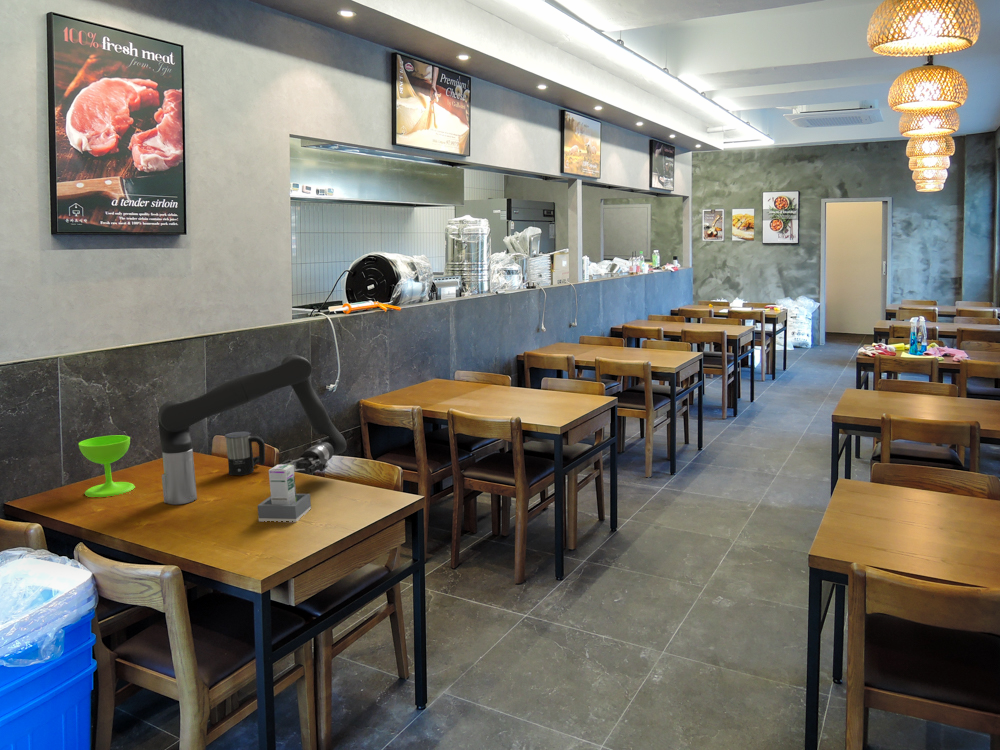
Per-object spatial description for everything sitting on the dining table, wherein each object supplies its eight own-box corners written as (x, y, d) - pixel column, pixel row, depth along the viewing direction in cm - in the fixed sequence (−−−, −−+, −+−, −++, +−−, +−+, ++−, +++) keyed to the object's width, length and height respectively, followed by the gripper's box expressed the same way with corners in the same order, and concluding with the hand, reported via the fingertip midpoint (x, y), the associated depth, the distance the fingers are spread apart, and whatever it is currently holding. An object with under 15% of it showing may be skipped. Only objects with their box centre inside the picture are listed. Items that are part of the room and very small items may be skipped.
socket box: (258, 521, 230) (257, 505, 229) (275, 508, 242) (274, 493, 241) (296, 522, 229) (295, 506, 228) (311, 509, 240) (310, 493, 240)
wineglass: (143, 483, 273) (138, 434, 271) (122, 497, 258) (117, 445, 255) (98, 484, 273) (92, 436, 270) (74, 498, 257) (68, 447, 254)
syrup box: (289, 515, 232) (286, 469, 230) (271, 514, 233) (268, 468, 231) (297, 509, 238) (294, 464, 235) (280, 508, 239) (276, 463, 236)
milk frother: (230, 477, 278) (226, 438, 276) (223, 467, 292) (219, 430, 290) (269, 471, 285) (266, 433, 282) (261, 462, 298) (258, 425, 296)
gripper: (294, 447, 260) (274, 459, 244) (334, 447, 258) (316, 460, 242) (295, 468, 261) (275, 482, 245) (335, 468, 259) (318, 482, 243)
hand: (296, 471), depth 244 cm, fingers open, 8 cm apart
